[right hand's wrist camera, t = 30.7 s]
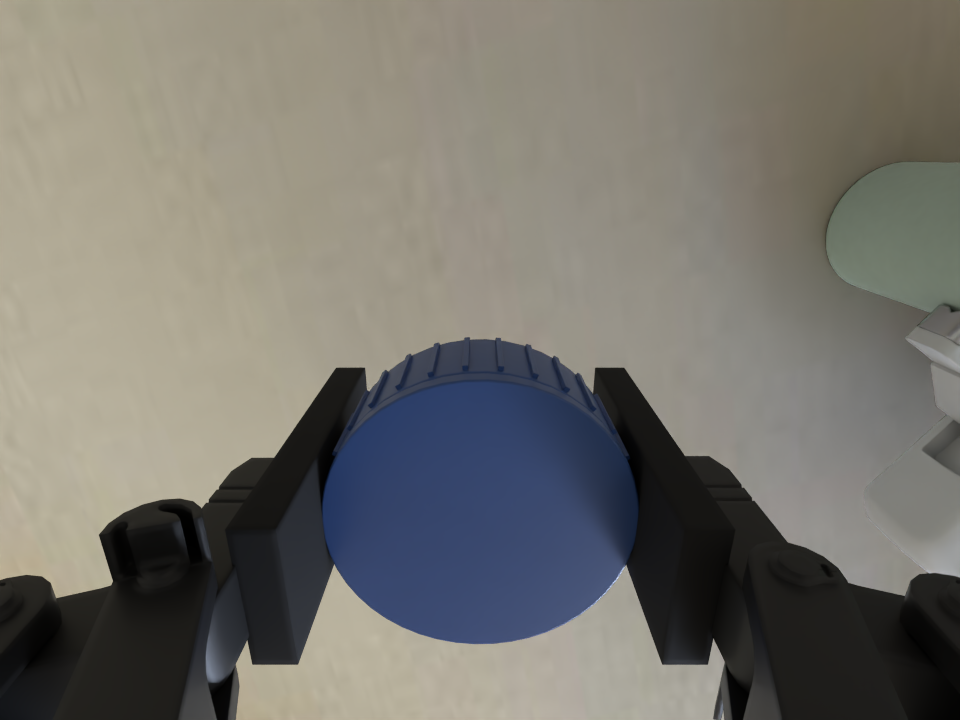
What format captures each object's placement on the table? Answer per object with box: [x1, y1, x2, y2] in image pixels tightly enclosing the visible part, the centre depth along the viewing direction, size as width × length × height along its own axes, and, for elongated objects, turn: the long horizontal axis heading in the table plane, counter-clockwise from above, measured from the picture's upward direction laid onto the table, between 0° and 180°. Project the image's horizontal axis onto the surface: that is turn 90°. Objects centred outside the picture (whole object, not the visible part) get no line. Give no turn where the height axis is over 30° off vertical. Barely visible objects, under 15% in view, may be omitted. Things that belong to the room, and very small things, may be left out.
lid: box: [322, 337, 639, 644], centre depth 11 cm, size 6×6×2 cm
